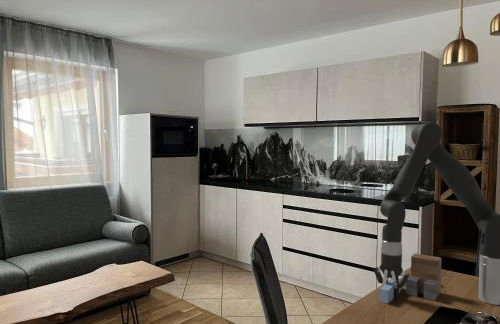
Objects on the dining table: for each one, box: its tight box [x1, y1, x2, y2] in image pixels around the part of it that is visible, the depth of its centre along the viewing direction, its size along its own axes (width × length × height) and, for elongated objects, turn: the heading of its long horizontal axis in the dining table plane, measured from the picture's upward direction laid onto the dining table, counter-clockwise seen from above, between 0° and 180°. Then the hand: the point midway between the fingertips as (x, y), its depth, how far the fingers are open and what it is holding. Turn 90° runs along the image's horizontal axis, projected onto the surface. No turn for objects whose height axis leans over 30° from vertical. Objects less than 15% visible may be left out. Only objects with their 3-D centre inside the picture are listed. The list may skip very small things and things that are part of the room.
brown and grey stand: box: [405, 253, 442, 302], centre depth 152 cm, size 10×11×14 cm
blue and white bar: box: [379, 275, 403, 304], centre depth 150 cm, size 19×3×5 cm, turn 141°
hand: (390, 295), depth 149 cm, fingers closed on blue and white bar, 3 cm apart
